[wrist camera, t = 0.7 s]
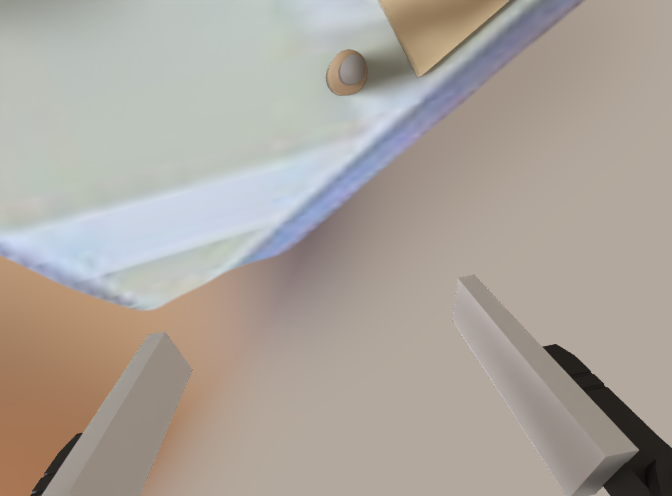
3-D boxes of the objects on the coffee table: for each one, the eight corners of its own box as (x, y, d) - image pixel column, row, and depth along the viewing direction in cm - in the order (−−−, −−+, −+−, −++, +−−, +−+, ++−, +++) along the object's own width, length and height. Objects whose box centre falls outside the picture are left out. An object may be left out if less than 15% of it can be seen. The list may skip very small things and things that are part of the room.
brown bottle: (319, 74, 27) (324, 65, 19) (344, 51, 26) (358, 31, 18) (338, 102, 28) (349, 103, 21) (362, 80, 28) (383, 73, 20)
